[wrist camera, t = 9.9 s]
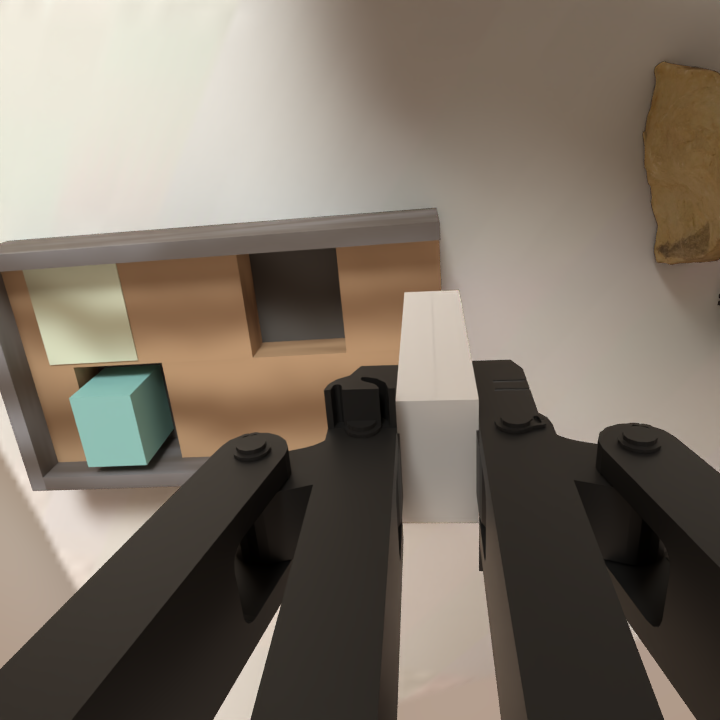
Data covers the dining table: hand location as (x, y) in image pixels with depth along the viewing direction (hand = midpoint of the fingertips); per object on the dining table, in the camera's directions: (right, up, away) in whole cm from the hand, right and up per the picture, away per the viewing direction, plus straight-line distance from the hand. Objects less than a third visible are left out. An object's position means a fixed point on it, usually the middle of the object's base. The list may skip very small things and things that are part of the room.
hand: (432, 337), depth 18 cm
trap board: (-10, +1, +25) cm, 27 cm away
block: (-16, -4, +24) cm, 30 cm away
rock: (+16, +10, +19) cm, 27 cm away
